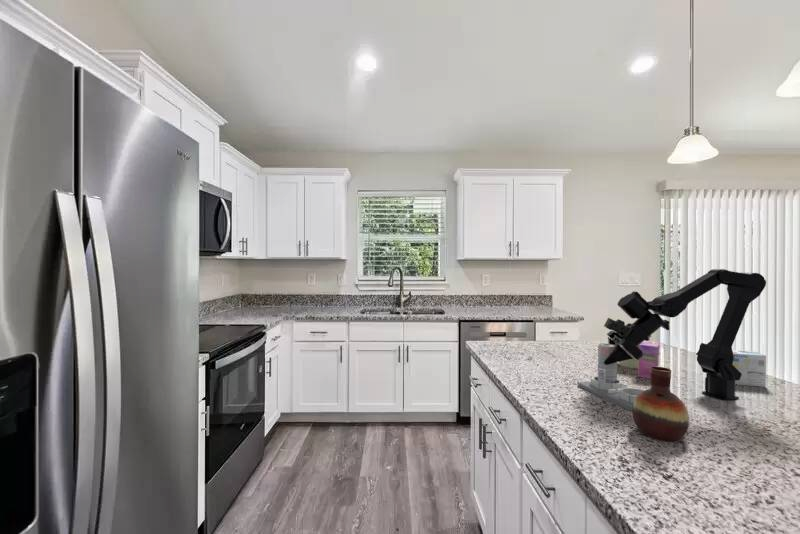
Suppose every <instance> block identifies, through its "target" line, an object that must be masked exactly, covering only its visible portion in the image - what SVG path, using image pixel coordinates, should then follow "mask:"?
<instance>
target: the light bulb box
mask: <svg viewBox="0 0 800 534" xmlns="http://www.w3.org/2000/svg"><path fill="white" fill-rule="evenodd" d="M732 351H733V355H734V360H733V364H732V365H733V366H734V367H735V368H736V369H737V370H738V371H739V372H740V373H741V374H742V375H741V378H740V380H735V385H736V384H737V385H738V386H739V385H740V386H749V387H750V386H751V387H764V388H766V386H767V385H766V383H767V381H766V380H767V355H766V354H763V353H760V352H757V351H754V350H753V351H751V350H750V351H748V350H734V349H732Z"/></svg>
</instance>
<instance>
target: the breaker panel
mask: <svg viewBox="0 0 800 534" xmlns="http://www.w3.org/2000/svg"><path fill="white" fill-rule="evenodd" d="M577 386H578V387H579V388H582V389H584V390H586V391H588V392H590V393H592V394H594V395H596V396H598V397H600V398H603V399H605V400H607V401H608V402H611V403H613V404H615V405H617V406H619V407H621V408H624V409H626V410H628V411H630V412H632V407H633V402H634V400H635V398H636V397H637V396H638V395H639V394H640V393H641V392H643V391H645V390H646V389H643V388H636V387H629V386H627V385H624V384H623V381H622V380H621V379H619V378H617V383H605V382H600V381H598V375H592V376H591V378H590V381H578V383H577Z"/></svg>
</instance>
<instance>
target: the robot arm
mask: <svg viewBox="0 0 800 534" xmlns="http://www.w3.org/2000/svg"><path fill="white" fill-rule="evenodd" d="M720 285H725V286H726V290H727V291H726V292H727V294H728V300H727V302H726V305H725V307H724V309H723V311H722V314H721V317H720V319H719V321H718V324H717V327H716V329H715V331H714V333H713V336H712V338H711V340H710V341H709V342H708V343H704V342H700V344H699V348H698V350H697V351H696V353H695V355H696V362H697V363H698V365H699V366H700V368H701V370H702V372H703V373H705V374H706V375H705V376H706V377H705V378H704V390H703V391H701V393H702V394H704V395H707V396H709V397H713V398H716V399H719V400H721V401H727V400H739V399H740V397H739V396H737V395H735V394H736V384H735V380H740V378H741V375H742V374H741V373H740V372H739V371H738V370H737V369H736V368H735V367H734V366H733V365H732V364H733V360H734V355H733V351H732V350H733V345H734V343H735V339H737V338H736V337H737V335H738V332H739V330H740V327H741V325H742V323H743V320H744V317H745V316H746V313H747V311H748V308H749V306H750V304H751V303H752V302H753V301H755V300H756V299H757V298H758V297H760V296H761V294H762V292H763V291H764V289H765V288H766V286H767V280H766V279H765V277H764V276H763V275H762V274H761V273H758V272H738V271H732V270H728V269H724V268H714V269H710V270H708V271H707V273H705V274H703V275H702V276H699V277H698V278H697V279H695V280H693V281H691V282H690V283H688V284H686V285H684V286H683V287H681V288H679V289H678V290H676V291H673V292H670V293H665V294H662V295H659V296H658V297H655V298H654V299H652V300H650V301H647V300H646V299H645V298H644V297H642V295H641V294H640V293H639V292H638V291H636V290H635V291H632V292H631V293H628V294H626V295H625V296H622V297H621V298H620V299H619V300H618V302H617V306H618V307H619V308H620V309H621V311H623V313H625V314H626V315H627V316H628V317H629V318H631V319H633V320H634V319H636V320H635V321H634V322H633V323H631V322H630V323H629V322H628V323H627V324H626V325H625V321H624V320H621V319H619V318H618V319H616V320H614V319H612V318H610V317H607V319H606V321H605V322H604V325H603V327H604V328H606V329H608V330H610V331H609V332H607V333H606V335H607V342H608V343H607V344H613V345H615V349H614V351H613V352H612V353H611V354H610V355H609V356H608V357H607V359H606V360H605V361H604V363H605V364H606V365H608V364H612V363H616V362H617V363H619V362H620V361H624V360H629V359H633V358H632V357H631V356H632V355H633V356H634V358H635V359H637V360H639V359H640V358H641V357H642V356H643V352H642V351H641V350H640V349H639V348H638V347H637V346H638V345H639V344H641V343H642V342H643V341H644V340H645V341H648V340H649V338H648V337H649V336H650V335H651V336H652V335H653V334H654V333H656V332H657V331H658V330H659V329H661V328H662V329H664V330H665V331H670V320H667V319H663V318H662V317H667V318H676V317H678V316H680V314H681V313H683V312H684V311H685V310H686V309H687V307H688V305H689V304H690V303H691V302H693V301H695V300H696V299H697V298H699V297H701V296H703V295H705V294H706V293H708V292H709V291H711V290H713V289H715V288H716V287H718V286H720ZM651 311H652V312H653V313H652V312H651ZM661 316H662V317H661Z"/></svg>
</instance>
